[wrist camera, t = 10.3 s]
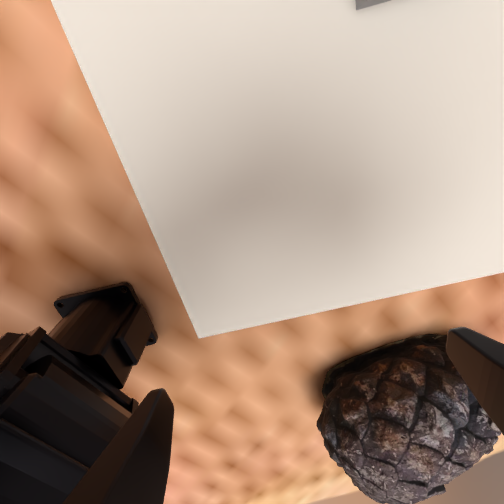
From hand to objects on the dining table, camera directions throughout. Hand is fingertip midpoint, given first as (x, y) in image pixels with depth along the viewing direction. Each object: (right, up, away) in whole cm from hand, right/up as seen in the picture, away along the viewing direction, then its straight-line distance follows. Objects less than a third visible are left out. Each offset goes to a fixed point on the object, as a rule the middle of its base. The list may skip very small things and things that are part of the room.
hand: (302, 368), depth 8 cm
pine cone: (+13, -8, +19) cm, 24 cm away
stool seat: (+3, +11, +9) cm, 15 cm away
